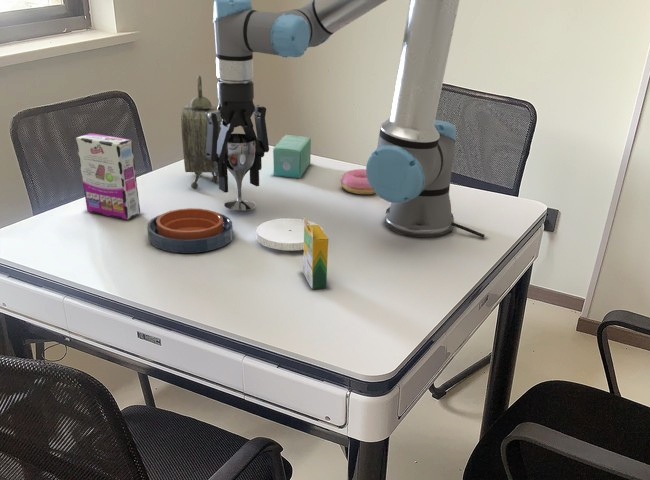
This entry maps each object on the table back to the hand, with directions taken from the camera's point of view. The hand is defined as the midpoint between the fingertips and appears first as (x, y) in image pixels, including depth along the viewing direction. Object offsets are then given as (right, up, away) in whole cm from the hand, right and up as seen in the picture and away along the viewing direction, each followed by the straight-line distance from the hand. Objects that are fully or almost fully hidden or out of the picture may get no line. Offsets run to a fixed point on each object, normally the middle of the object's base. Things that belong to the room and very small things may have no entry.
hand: (239, 187), depth 163 cm
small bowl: (-8, -14, -12) cm, 20 cm away
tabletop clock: (-11, +6, +19) cm, 23 cm away
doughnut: (+28, +5, +20) cm, 35 cm away
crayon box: (+18, -25, -26) cm, 40 cm away
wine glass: (0, -4, +2) cm, 4 cm away
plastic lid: (+12, -14, -11) cm, 22 cm away
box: (+9, +12, +31) cm, 34 cm away
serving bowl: (-8, -14, -12) cm, 20 cm away
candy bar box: (-28, -6, -1) cm, 28 cm away
